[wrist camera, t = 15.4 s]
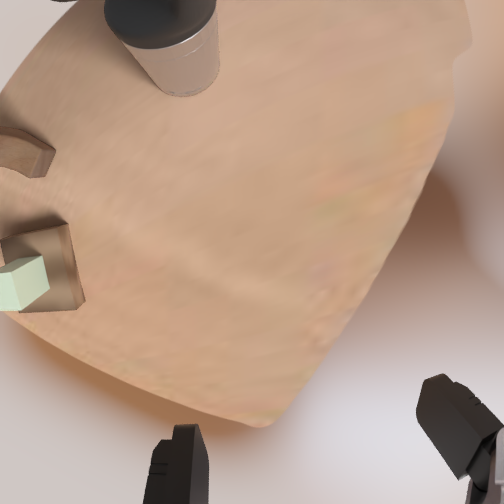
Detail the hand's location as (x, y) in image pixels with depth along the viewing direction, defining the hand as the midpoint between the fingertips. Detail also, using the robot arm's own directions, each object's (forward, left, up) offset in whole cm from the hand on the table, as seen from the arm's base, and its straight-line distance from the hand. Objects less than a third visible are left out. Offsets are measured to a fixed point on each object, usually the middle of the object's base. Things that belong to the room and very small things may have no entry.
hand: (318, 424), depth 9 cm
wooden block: (-17, -31, -34) cm, 49 cm away
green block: (+1, -32, -31) cm, 44 cm away
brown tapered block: (+1, -32, -35) cm, 47 cm away
